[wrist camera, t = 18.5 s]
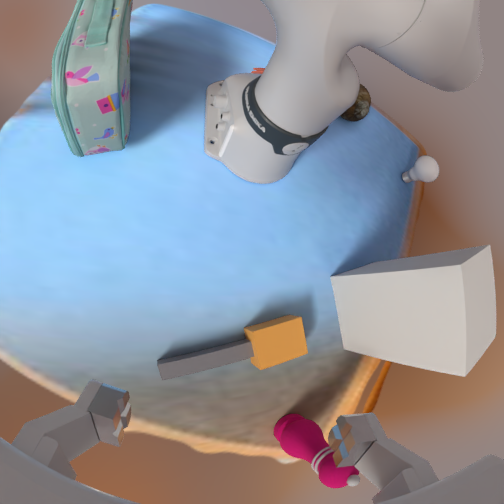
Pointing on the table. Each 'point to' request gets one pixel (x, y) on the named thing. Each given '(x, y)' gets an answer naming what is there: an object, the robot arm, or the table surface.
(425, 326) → the cabinet
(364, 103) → the seashell
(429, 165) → the lightbulb
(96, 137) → the lunch box
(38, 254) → the table surface
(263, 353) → the handle
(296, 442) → the pepper mill
